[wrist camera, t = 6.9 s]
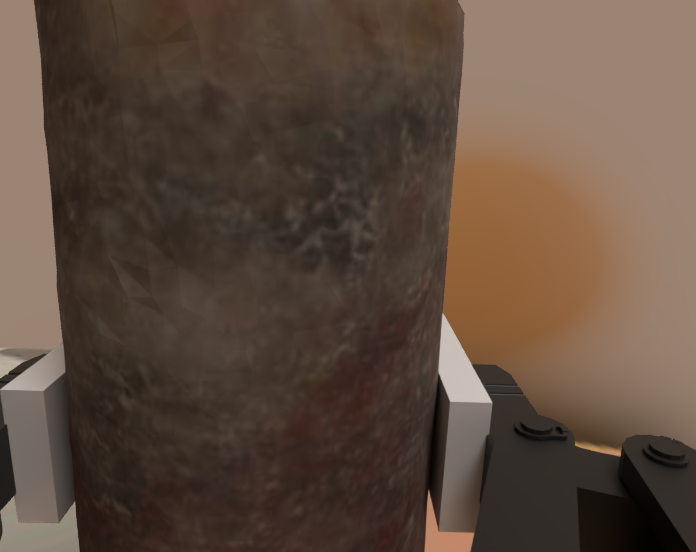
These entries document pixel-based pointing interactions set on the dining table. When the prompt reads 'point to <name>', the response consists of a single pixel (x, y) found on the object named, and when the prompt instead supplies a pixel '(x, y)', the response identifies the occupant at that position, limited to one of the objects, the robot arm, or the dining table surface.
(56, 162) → the candle
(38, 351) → the dining table surface
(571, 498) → the robot arm
